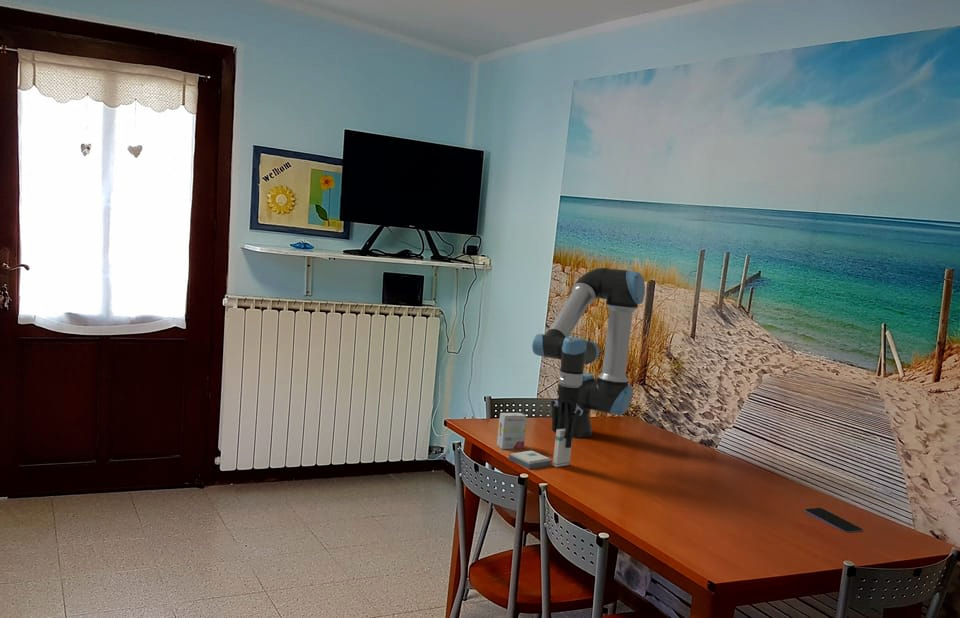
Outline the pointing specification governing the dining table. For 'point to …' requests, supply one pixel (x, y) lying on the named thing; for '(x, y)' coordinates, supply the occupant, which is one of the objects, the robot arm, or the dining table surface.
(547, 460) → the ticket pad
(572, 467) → the dining table surface
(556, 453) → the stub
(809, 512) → the smartphone
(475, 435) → the dining table surface
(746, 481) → the dining table surface
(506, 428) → the ink box
